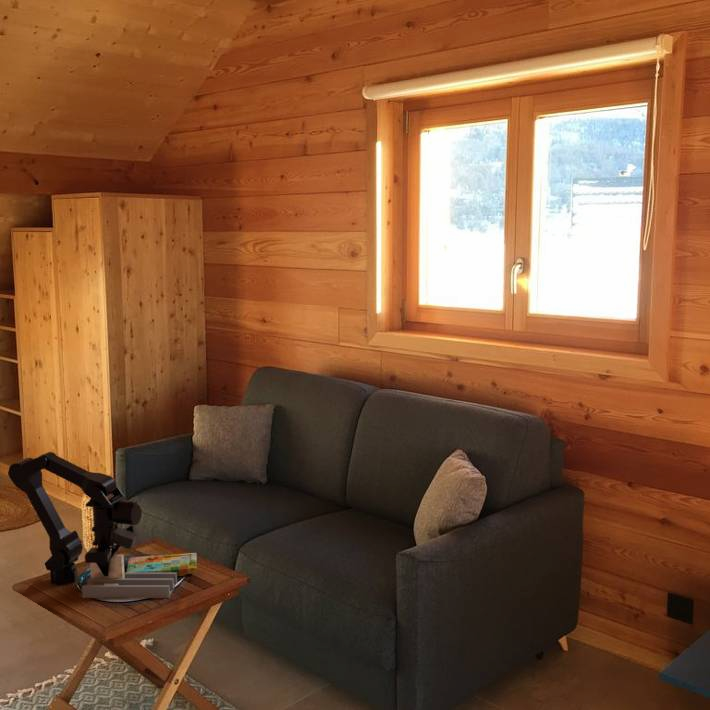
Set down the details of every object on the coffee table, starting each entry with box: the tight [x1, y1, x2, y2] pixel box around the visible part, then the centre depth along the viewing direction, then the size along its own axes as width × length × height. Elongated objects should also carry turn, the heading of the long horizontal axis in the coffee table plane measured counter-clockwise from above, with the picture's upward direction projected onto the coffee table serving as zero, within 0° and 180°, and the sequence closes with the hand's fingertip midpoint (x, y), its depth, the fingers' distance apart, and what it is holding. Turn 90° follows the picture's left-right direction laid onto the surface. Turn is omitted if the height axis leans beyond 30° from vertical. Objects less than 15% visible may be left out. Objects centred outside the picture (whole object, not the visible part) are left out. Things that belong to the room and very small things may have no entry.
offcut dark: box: [86, 582, 103, 585], centre depth 245 cm, size 4×2×2 cm, turn 89°
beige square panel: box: [89, 554, 125, 578], centre depth 248 cm, size 9×2×9 cm, turn 89°
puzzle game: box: [126, 552, 198, 577], centre depth 260 cm, size 12×5×20 cm
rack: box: [81, 571, 178, 599], centre depth 246 cm, size 24×10×4 cm, turn 89°
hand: (107, 574), depth 248 cm, fingers closed on beige square panel, 2 cm apart
